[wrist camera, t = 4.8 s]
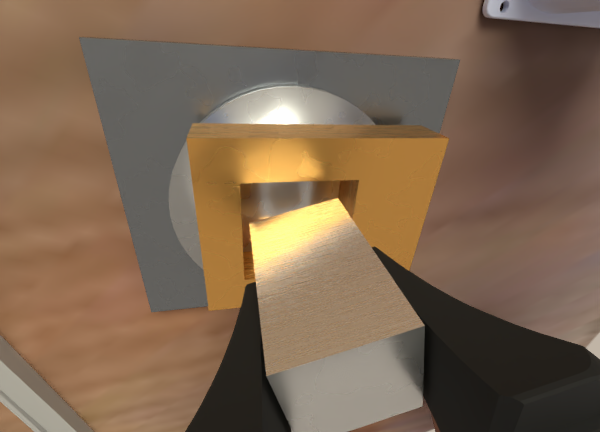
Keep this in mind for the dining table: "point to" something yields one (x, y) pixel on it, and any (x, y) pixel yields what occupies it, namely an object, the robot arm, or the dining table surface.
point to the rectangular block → (333, 323)
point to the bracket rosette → (261, 151)
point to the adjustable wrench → (34, 396)
